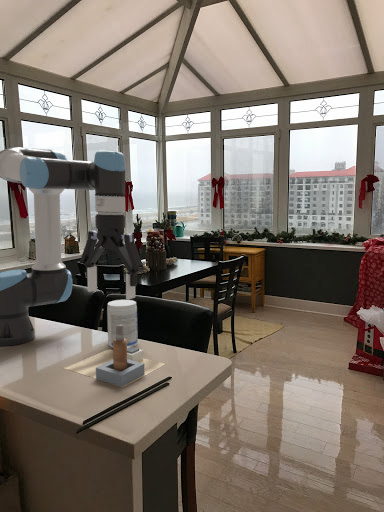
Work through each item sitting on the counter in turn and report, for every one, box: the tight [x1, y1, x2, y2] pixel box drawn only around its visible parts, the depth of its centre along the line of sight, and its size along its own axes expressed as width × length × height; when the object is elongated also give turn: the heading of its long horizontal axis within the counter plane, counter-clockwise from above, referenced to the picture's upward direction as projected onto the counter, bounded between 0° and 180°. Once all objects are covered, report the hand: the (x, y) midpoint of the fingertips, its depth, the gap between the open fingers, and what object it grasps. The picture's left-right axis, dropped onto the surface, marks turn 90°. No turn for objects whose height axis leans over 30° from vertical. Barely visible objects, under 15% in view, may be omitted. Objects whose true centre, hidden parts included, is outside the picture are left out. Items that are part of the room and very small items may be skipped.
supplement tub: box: [106, 299, 139, 348], centre depth 134 cm, size 10×10×15 cm
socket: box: [95, 359, 144, 388], centre depth 109 cm, size 9×9×3 cm
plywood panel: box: [63, 348, 166, 388], centre depth 116 cm, size 22×18×1 cm
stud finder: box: [127, 346, 144, 362], centre depth 121 cm, size 7×5×4 cm
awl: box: [112, 324, 127, 371], centre depth 108 cm, size 4×4×14 cm
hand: (110, 294), depth 108 cm, fingers open, 13 cm apart
